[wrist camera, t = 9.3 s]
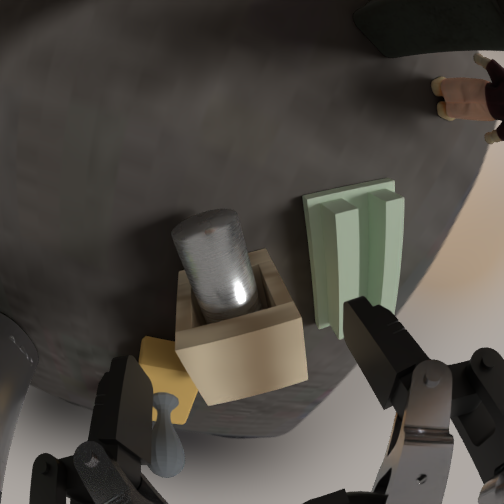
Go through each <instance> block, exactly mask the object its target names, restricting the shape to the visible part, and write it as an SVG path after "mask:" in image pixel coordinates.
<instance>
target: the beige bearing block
mask: <svg viewBox="0 0 504 504" xmlns="http://www.w3.org/2000/svg"><path fill="white" fill-rule="evenodd" d="M248 255H249V259H250V263H251V266H252V270H253V274H254V278H255V282H256V285H257V289H258V293H259V297H260V300H261V304H262V308H263V310H261V311H257V312H254V313H250V314H246V315H243V316H239V317H235V318H231V319H228V320H224V321H220V322H216V323H212V324H207V322H206V320H205V318H204V315H203V313H202V311H201V308H200V306H199V304H198V301H197V299H196V297H195V294H194V292H193V289H192V287H191V285H190V282H189V280H188V277H187V275H186V272H185V270H182V271H179V274H178V289H177V307H176V331H175V351H176V353H177V355H178V357H179V359H180V360H181V362H182V364H183V366H184V367H185V369H186V371H187V372H188V374H189V376H190V377H191V379H192V381H193V382H194V384H195V386H196V387H197V389H198V390H199V392H200V394H201V395H202V397H203V398H204V400H205V402H206V403H207V405H208V406H210V405H215V404H220V403H225V402H229V401H234V400H238V399H242V398H246V397H250V396H254V395H258V394H262V393H266V392H269V391H273V390H276V389H280V388H283V387H287V386H290V385H293V384H296V383H299V382H302V381H306V380H308V374H307V363H306V353H305V343H304V334H303V325H302V317H301V315H300V313H299V311H298V309H297V308H296V306H295V304H294V302H293V300H292V298H291V296H290V294H289V292H288V290H287V288H286V286H285V285H284V283H283V281H282V279H281V277H280V275H279V273H278V271H277V269H276V267H275V265H274V264H273V262H272V260H271V258H270V256H269V254H268V252H267V250H266V248H265V249H261V250H257V251H253V252H250V253H248Z"/></svg>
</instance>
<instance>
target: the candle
mask: <svg viewBox="0 0 504 504" xmlns="http://www.w3.org/2000/svg"><path fill="white" fill-rule="evenodd" d="M353 19H354V23H355V24H356V26H357V27H358V28H359V29H360V30H361V31H362V32H363V33H364V34H365V35H366V36H367V38H368V39H369V40H370V41H371V42H372V43H373V44H374V45H375V46H376V47H377V48H378V49H379V51H380V52H381V53H382V54H383V55H384V56H386V57H388V58H397V57H403V56H410V55H418V54H426V53H436V52H449V51H471V50H493V51H504V0H371V1H370V2H369V3H368V4H366V5H365V6H364V7H363V8H360V9H358V10H356V11H355V13H354V15H353Z"/></svg>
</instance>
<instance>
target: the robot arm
mask: <svg viewBox="0 0 504 504" xmlns="http://www.w3.org/2000/svg"><path fill="white" fill-rule="evenodd" d="M343 335H344V339H345V342H346V344H347V346H348V348H349V350H350V351H351V353H352V355H353V356H354V358H355V360H356V362H357V363H358V365H359V367H360V368H361V370H362V372H363V374H364V375H365V377H366V379H367V381H368V382H369V384H370V386H371V388H372V390H373V391H374V393H375V395H376V397H377V398H378V400H379V402H380V404H381V405H382V407H383V409H384V410H385V409H387V408H389V407H391V406H393V407H394V408H395V410H396V415H395V419H394V423H393V428H392V432H391V436H390V440H389V443H388V447H387V451H386V454H385V458H384V460H383V463H382V465H381V467H380V469H379V472H378V474H377V477H376V480H375V483H374V486H373V488H372V491H371V492H362V491H358V492H345V489H342V490H339V491H336V492H333V493H330V494H327V495H324V496H321V497H318V498H314V499H311V500H309V501H307V502H305V503H303V504H442V499H443V496H444V492H445V488H446V483H447V479H448V474H449V470H450V464H451V459H452V452H453V445H454V439H453V436H452V435H451V434H449V424H450V418H451V420H452V422H453V423H454V425H455V427H456V429H457V430H458V433H459V435H460V436H461V438H462V440H463V442H464V444H465V446H466V448H467V450H468V452H469V454H470V456H471V458H472V460H473V462H474V464H475V466H476V468H477V470H478V472H479V475H480V477H481V479H482V481H483V483H484V486H483V487H482V489H481V492H480V495H479V498H478V503H479V504H504V359H503V358H502V357H501V355H500V354H499V353H498V352H497V351H495V350H494V349H491V348H480V349H478V350H476V351H475V352H474V354H473V355H472V357H471V359H470V360H469V361H465V362H461V363H457V364H452V365H446V364H444V363H443V362H441V361H438V360H431V359H429V357H428V356H427V355H426V354H425V353H424V351H423V350H422V349H421V348H420V346H419V345H418V344H417V343H416V341H415V340H414V339H413V337H412V336H411V335H410V334H409V332H407V330H405V328H404V326H403V325H402V324H401V323H400V322H398V319H397V318H396V317H395V315H394V314H393V313H392V312H391V311H390V310H388V309H387V308H385V307H383V306H381V305H379V304H378V305H376V306H372V305H371V303H370V302H369V301H368V300H367V298H366V297H364V296H360V297H357V298H354V299H351V300H348V301H346V302H344V304H343ZM37 364H38V354H37V350H36V348H35V346H34V344H33V343H32V341H31V340H30V338H29V337H28V336H27V334H26V333H25V332H24V331H23V330H22V329H21V328H20V327H19V326H18V325H17V324H16V323H15V322H14V321H12V320H11V319H10V318H8V317H7V316H5V315H3V314H1V313H0V503H1V494H2V492H1V491H2V487H3V481H4V475H5V470H6V464H7V458H8V454H9V450H10V446H11V442H12V438H13V434H14V430H15V427H16V424H17V420H18V417H19V414H20V410H21V408H22V405H23V402H24V399H25V395H26V393H27V390H28V388H29V385H30V382H31V380H32V377H33V374H34V372H35V369H36V367H37ZM96 395H97V397H96V399H95V406H94V409H93V414H92V420H91V426H90V431H89V437H88V441H87V442H84V443H82V444H81V445H79V447H77V449H76V451H75V453H74V455H73V456H69V457H65V458H61V459H56V458H55V457H53V456H52V455H51V454H48V453H43V454H41V455H39V456H38V457H37V458H36V460H35V462H34V464H33V469H32V478H31V488H30V503H29V504H66V497H68V498H70V500H71V501H70V504H168V503H167V502H166V500H165V499H164V498H163V497H162V496H161V495H160V494H159V493H158V492H157V490H156V489H155V488H154V487H153V486H152V484H151V483H150V482H149V481H148V480H147V478H146V477H145V476H144V475H143V474H142V473H141V465H151V439H152V411H153V386H152V383H151V380H150V379H149V377H148V376H147V374H146V373H145V372H144V370H143V369H142V367H141V366H140V365H139V363H138V362H137V360H136V359H135V358H134V356H132V355H129V356H123V357H116V358H113V360H112V362H111V367H110V371H109V372H106V373H105V374H104V376H103V377H102V379H101V381H100V382H99V385H98V390H97V394H96ZM419 483H420V484H419Z"/></svg>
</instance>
